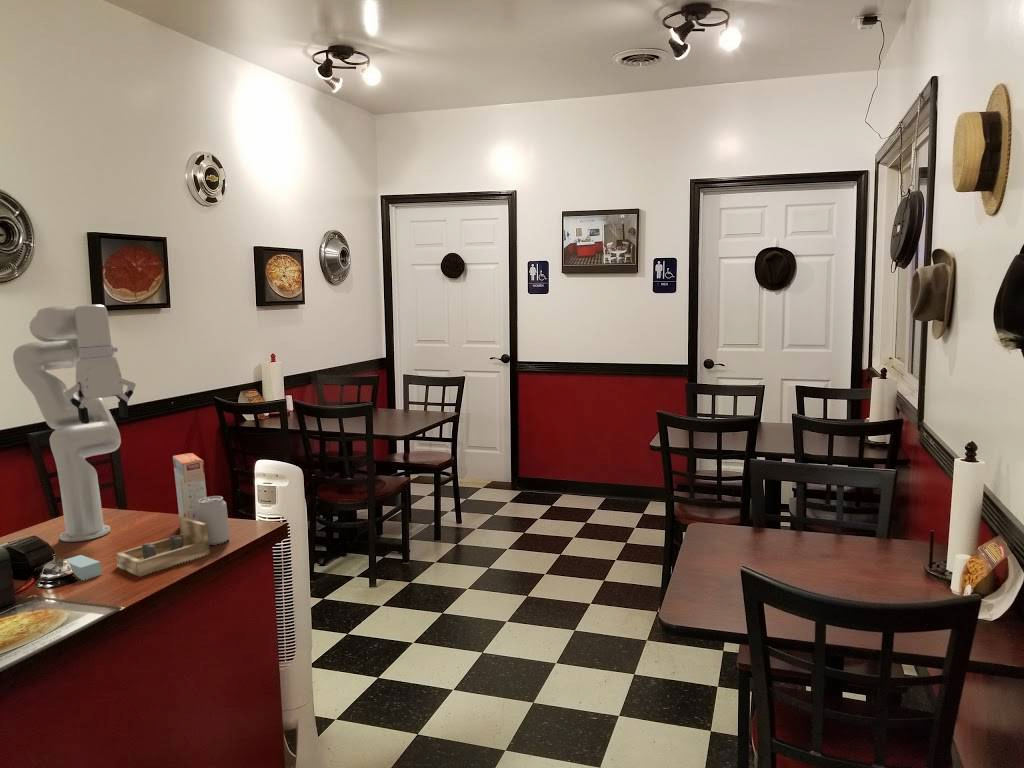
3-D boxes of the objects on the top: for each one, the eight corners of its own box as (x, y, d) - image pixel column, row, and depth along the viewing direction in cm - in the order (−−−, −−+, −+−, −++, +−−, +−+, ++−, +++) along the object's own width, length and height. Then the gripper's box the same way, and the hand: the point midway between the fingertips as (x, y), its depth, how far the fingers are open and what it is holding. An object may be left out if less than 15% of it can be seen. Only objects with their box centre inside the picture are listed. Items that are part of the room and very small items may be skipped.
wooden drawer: (117, 567, 196) (113, 535, 195) (186, 545, 210) (183, 516, 209) (139, 576, 189) (135, 544, 188) (209, 554, 202) (206, 523, 201)
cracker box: (211, 533, 220) (203, 459, 217) (189, 537, 217) (180, 463, 214) (201, 521, 232) (193, 451, 229) (179, 526, 229) (171, 455, 226)
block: (63, 574, 194) (61, 560, 194) (82, 568, 198) (80, 554, 197) (82, 581, 188) (80, 567, 188) (101, 575, 192) (100, 561, 191)
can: (220, 547, 208) (215, 502, 206) (194, 546, 209) (189, 502, 207) (235, 537, 215) (230, 494, 213) (210, 537, 216) (205, 494, 215)
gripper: (123, 350, 210) (131, 413, 212) (53, 357, 197) (62, 425, 199) (137, 350, 205) (145, 415, 207) (66, 357, 192) (75, 426, 194)
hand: (104, 419), depth 203 cm, fingers open, 9 cm apart
